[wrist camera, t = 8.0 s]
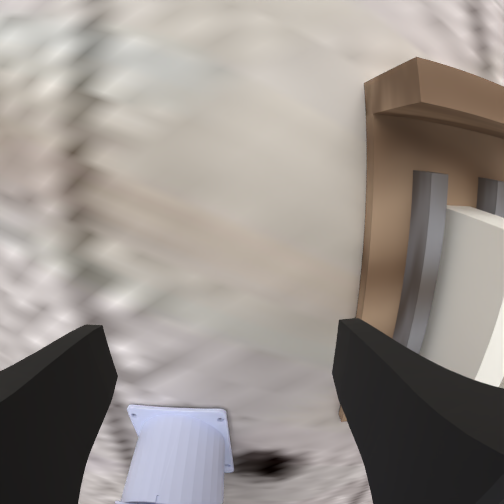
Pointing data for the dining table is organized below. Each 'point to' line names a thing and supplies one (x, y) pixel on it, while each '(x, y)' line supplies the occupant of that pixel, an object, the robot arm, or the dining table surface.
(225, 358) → the dining table surface
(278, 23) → the dining table surface
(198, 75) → the dining table surface
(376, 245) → the board
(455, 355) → the door panel
